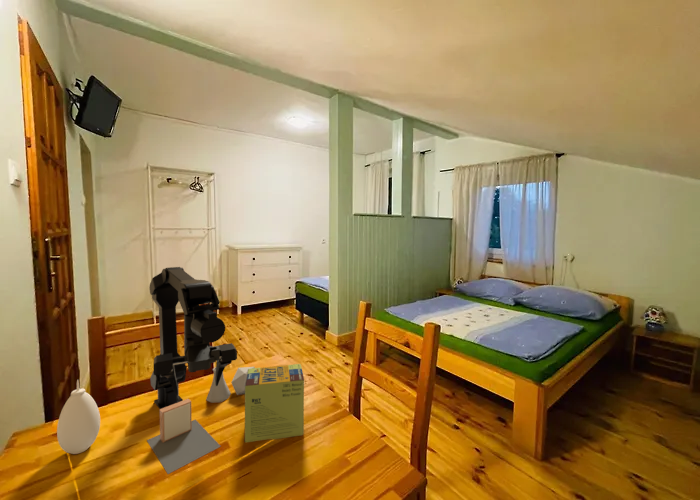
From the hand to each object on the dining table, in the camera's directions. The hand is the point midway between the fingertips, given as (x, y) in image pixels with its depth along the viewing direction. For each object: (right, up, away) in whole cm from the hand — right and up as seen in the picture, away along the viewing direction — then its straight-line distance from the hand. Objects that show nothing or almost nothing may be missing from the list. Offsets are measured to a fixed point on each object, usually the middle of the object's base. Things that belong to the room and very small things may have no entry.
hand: (197, 389), depth 78 cm
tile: (-7, -13, +2) cm, 15 cm away
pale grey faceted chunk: (+4, -12, +25) cm, 28 cm away
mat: (-3, -14, -1) cm, 14 cm away
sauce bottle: (-27, -14, -4) cm, 30 cm away
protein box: (+18, -14, +7) cm, 24 cm away
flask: (-4, -13, +21) cm, 25 cm away
